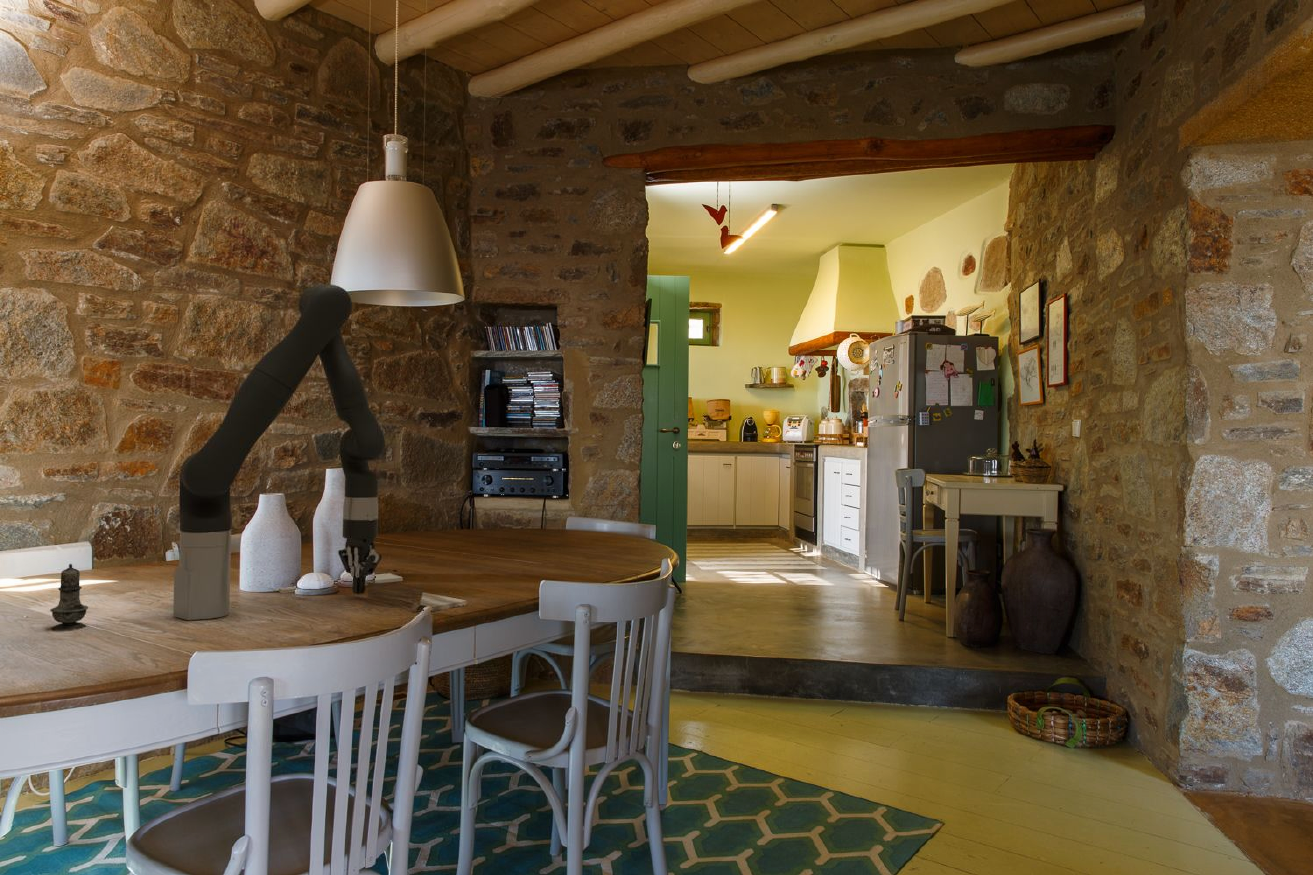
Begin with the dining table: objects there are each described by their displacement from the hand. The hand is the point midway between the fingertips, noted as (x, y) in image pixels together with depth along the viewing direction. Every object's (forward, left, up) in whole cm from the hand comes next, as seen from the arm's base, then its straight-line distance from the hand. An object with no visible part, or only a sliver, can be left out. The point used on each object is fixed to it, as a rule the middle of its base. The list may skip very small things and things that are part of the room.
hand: (358, 593), depth 194 cm
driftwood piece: (-1, -13, -2) cm, 13 cm away
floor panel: (+6, -13, -1) cm, 14 cm away
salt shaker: (-52, +16, -2) cm, 54 cm away
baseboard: (+9, +20, -2) cm, 22 cm away
